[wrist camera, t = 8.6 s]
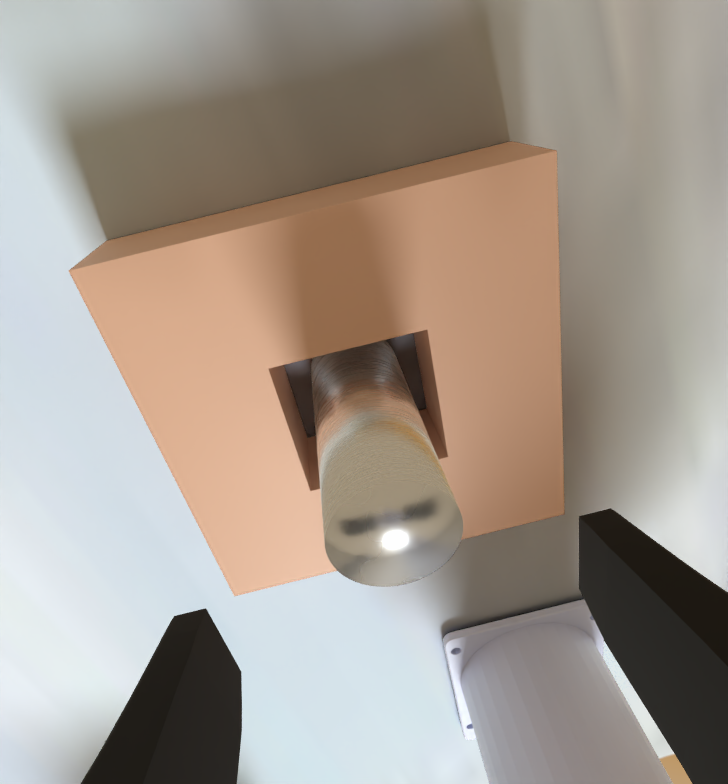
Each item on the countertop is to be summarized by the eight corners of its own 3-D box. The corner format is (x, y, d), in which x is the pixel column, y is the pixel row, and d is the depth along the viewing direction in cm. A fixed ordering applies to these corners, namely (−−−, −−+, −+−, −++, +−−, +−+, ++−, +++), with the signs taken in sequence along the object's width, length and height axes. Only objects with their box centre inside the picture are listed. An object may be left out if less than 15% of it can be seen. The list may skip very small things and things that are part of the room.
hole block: (530, 463, 21) (564, 514, 19) (241, 534, 21) (234, 595, 19) (511, 141, 15) (556, 150, 13) (106, 240, 15) (68, 270, 13)
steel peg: (402, 397, 19) (469, 569, 12) (321, 415, 19) (340, 599, 12) (389, 320, 17) (456, 467, 11) (301, 340, 17) (309, 501, 10)
